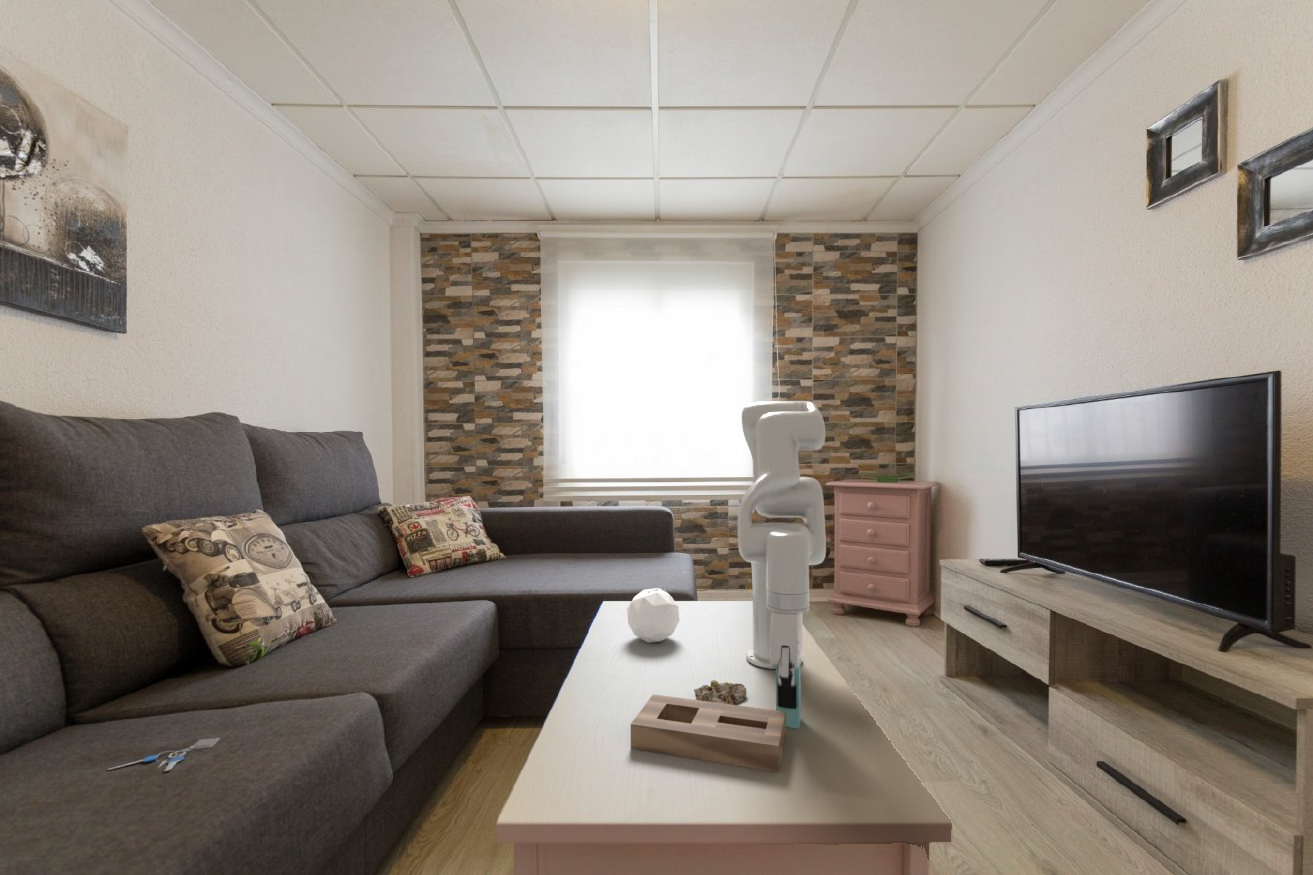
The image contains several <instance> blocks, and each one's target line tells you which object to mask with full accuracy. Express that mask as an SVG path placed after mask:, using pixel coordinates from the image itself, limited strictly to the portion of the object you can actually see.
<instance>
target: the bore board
mask: <svg viewBox="0 0 1313 875" xmlns="http://www.w3.org/2000/svg"><path fill="white" fill-rule="evenodd" d="M786 736H787V727H786V712H784V711H777V710H776V709H767V708H760V707H752V706H745V705H737V704H733V705H731V704H723V703H716V702H708V701H700V700H697V699H693V698H691V699H690V698H683V697H676V696H668V695H661V694H656V693H655V694H654V693H653V694H652V695H651V696H650V698H649V699H648V700H647V702H646V703H645V704H644V705H643V707H642V708H641V710H639V712H638V713H637V715H636V716H635V718H633V720H632V721H631V723H630V749H633V750H639V751H645V752H651V753H656V754H657V753H658V754H663V755H669V756H675V757H681V758H688V759H693V760H701V761H707V762H713V763H719V764H726V765H729V766H737V767H744V768H750V769H754V770H755V769H756V770H762V771H769V772H772V773H773V772H775V773H779V772H780V769H781V768H780V767H781V762H782V757H783V751H784V747H785V741H786V738H787V737H786Z"/></svg>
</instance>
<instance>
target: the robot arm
mask: <svg viewBox="0 0 1313 875" xmlns="http://www.w3.org/2000/svg"><path fill="white" fill-rule="evenodd" d="M741 425H742V431H743V437H744V439H745V442H746V443H747V447H748V450H749V452H750V454H751V458H752V474H753V475H752V478H753V480H752V484H751V485H750V487H749V488H748V489H747V490H746V491H745V493H744V494H743V496H742V499H740V504H739V507H738V510H737V542H738V543H737V544H738V545H737V546H738V552H739V555H740V557H741V558H742V559H743V560H744V561H745V562H747V563H751V579H752V648H749V649H748V650H747V651H746V656H745V657H746V660H747V661H748V662H749V663H750V664H751V665H753V666H757V667H760V668H764V669H770V670H776V667H777V664H778V662H779V683H778V706H779V707H782V708H790V709H796V707H797V687H796V685H795V670H797V669H798V667H799V662H800V658H801V663H802V662H803V660H802V659H803V658H802V648H803V620H804V619H803V614H804V613H806V612H808V611H809V610H810V569H809V566H816V565H819V564H822V563H823V562H824V560H825V558H826V553H827V537H826V518H825V502H824V501H825V500H824V494H823V493H824V492H823V488H822V485H821V483H820V482H819V481H818V480H817V479H816V478H814V477H809V476H801V472H800V462H799V451H818V450H821V449H822V448H823V446H824V445H825V441H826V426H825V422H824V418H823V415H822V413H821V412H820V410H819V409H818V407H817V405H816V404H815V403H814V402H812V401H810V400H809V401H808V400H794V401H793V400H789V401H788V400H787V401H786V400H775V401H772V400H769V401H766V400H765V401H756V402H753V403H749V404H747V405H745V406H744V407H743V410H742V412H741ZM754 509H755V511H756V513H757V514H758V515H759V516H763V517H769V518H770V517H771V518H800V519H801V520H803V522H763V523H753V522H752V516H753V515H752V514H753V511H754ZM789 664H792V667H789ZM789 672H791V674H789Z"/></svg>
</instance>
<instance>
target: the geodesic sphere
mask: <svg viewBox="0 0 1313 875" xmlns="http://www.w3.org/2000/svg"><path fill="white" fill-rule="evenodd" d="M670 594H671V593H670ZM670 594H669V593H668V592H667V591H666V587H664V588H663V589H662V588H659V587H656V588H648V589H643V590H641V591H640V592H639V593H637V594H636V595H635V596H634V597H633V599H632V600H631V602H630V603H629V605H628V607H627V609H626V611H627V624H628V626H629V628H630V629H631V631H632V633H633V635H634V636H636V637H637V638H639V639H641V640H642V641H644V642H646V643H647V644H649V643H650V644H651V643H657V642H663V641H664V640H666V639H667V638H668V637H670V636H672V635H673V634H674V632H675V631H676V628H677V626H678V624H679V622H680V614H679V606H678V604H677V602H676V601H675V600H674V598H673V597H672V595H670Z"/></svg>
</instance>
